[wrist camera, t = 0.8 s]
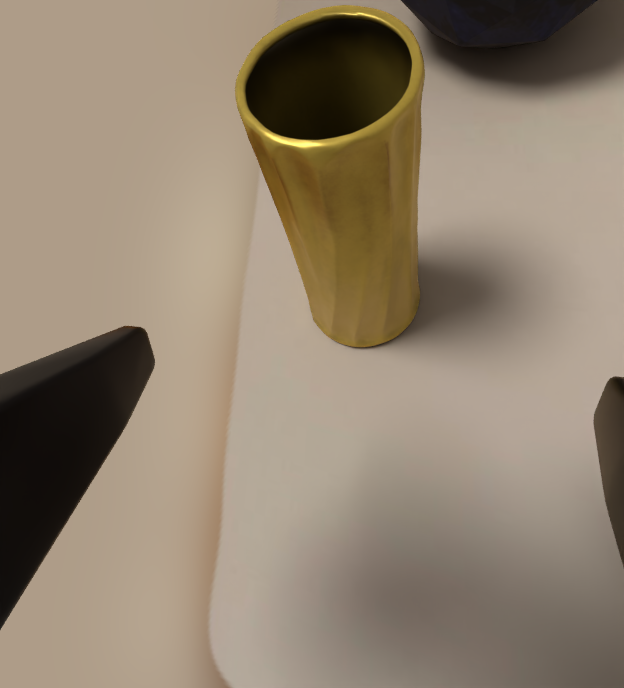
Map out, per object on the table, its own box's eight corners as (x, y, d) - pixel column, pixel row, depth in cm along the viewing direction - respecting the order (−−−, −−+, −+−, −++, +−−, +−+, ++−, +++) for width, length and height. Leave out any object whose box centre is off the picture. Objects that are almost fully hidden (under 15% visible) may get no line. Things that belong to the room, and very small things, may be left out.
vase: (289, 292, 27) (181, 77, 13) (372, 230, 27) (347, -38, 14) (353, 370, 24) (300, 205, 11) (443, 302, 25) (494, 64, 12)
